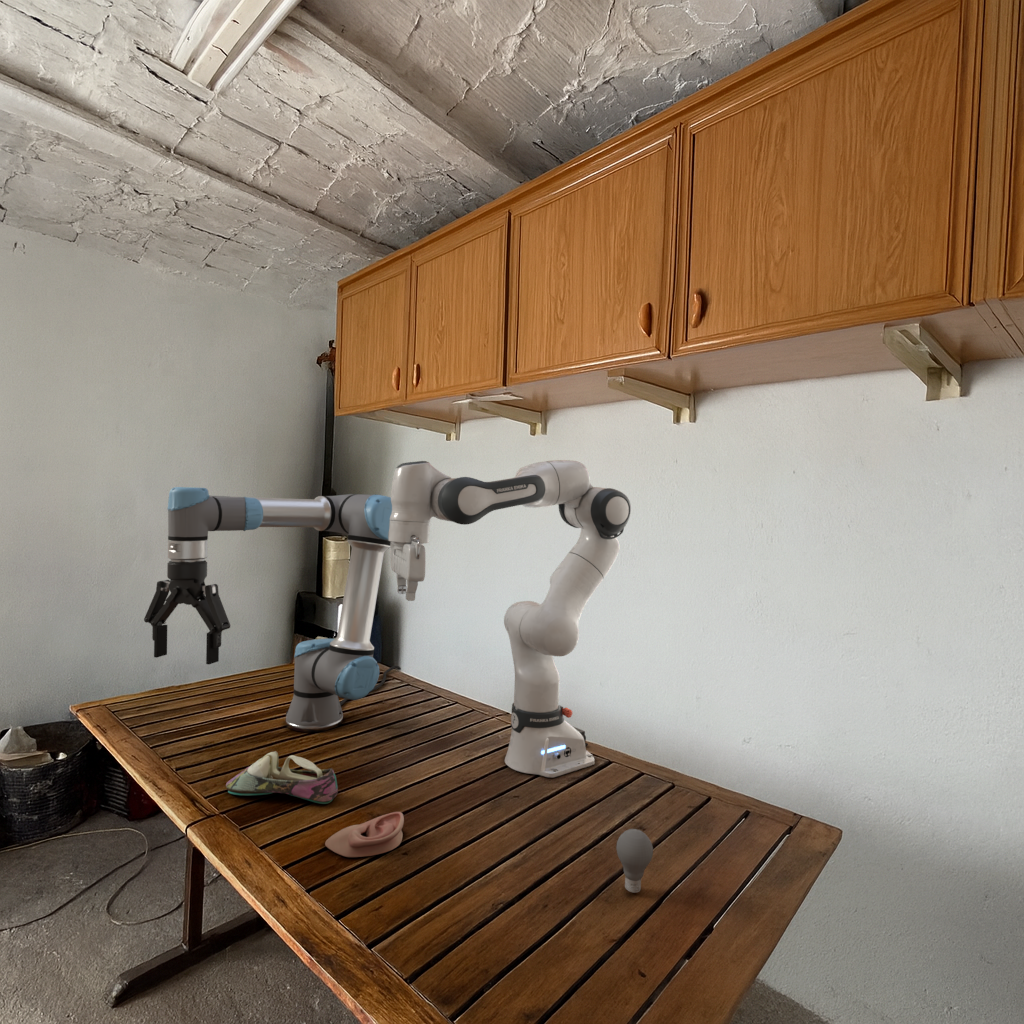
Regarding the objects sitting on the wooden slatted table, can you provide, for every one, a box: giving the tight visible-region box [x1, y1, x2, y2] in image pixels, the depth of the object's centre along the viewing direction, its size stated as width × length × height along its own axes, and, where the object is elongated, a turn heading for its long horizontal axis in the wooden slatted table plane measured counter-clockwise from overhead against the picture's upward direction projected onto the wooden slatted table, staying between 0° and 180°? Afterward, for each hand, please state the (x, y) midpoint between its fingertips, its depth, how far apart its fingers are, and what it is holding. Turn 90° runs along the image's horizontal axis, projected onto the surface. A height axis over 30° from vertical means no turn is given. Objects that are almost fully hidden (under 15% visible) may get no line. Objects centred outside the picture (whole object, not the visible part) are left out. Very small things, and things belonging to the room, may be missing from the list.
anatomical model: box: [324, 811, 405, 858], centre depth 117 cm, size 13×4×12 cm
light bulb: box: [615, 828, 654, 894], centre depth 106 cm, size 6×6×10 cm
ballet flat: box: [225, 750, 339, 805], centre depth 134 cm, size 8×24×9 cm, turn 81°
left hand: (186, 659), depth 135 cm, fingers open, 13 cm apart
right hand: (405, 596), depth 139 cm, fingers open, 8 cm apart
